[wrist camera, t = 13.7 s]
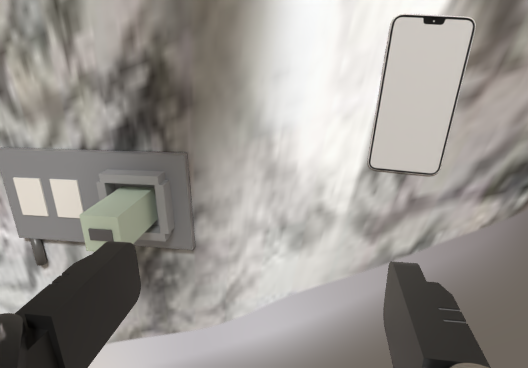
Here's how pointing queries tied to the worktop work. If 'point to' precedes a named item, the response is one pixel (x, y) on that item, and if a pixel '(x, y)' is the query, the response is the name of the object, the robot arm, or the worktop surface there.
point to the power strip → (94, 192)
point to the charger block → (119, 217)
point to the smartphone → (419, 92)
